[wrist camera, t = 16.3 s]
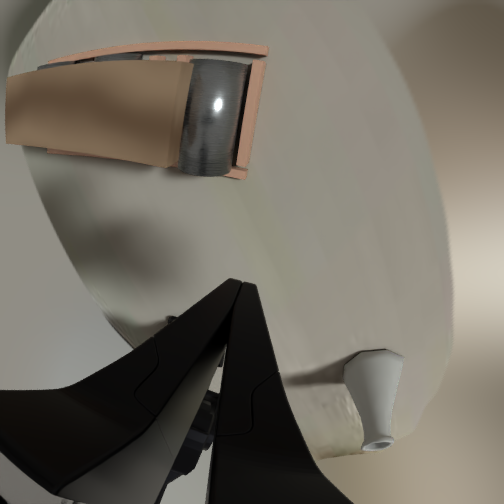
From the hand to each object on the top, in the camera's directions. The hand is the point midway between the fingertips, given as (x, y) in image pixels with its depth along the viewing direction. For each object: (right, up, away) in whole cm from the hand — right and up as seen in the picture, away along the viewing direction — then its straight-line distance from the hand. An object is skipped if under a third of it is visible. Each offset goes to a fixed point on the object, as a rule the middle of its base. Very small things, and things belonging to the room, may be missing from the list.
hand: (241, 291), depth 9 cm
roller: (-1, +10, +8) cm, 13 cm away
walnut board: (-12, +11, +6) cm, 17 cm away
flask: (+14, -12, +19) cm, 26 cm away
